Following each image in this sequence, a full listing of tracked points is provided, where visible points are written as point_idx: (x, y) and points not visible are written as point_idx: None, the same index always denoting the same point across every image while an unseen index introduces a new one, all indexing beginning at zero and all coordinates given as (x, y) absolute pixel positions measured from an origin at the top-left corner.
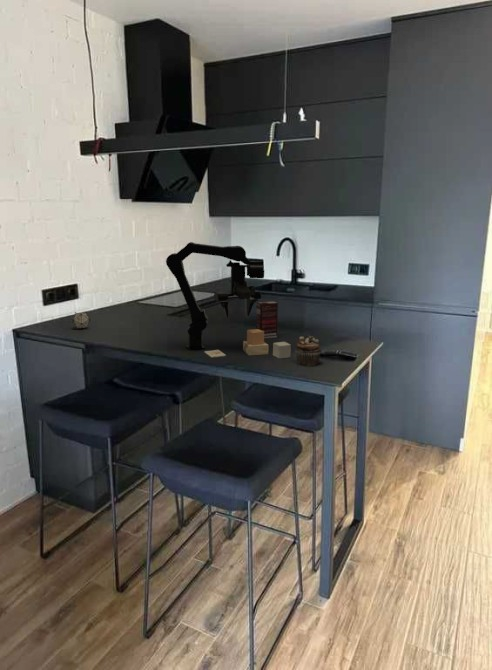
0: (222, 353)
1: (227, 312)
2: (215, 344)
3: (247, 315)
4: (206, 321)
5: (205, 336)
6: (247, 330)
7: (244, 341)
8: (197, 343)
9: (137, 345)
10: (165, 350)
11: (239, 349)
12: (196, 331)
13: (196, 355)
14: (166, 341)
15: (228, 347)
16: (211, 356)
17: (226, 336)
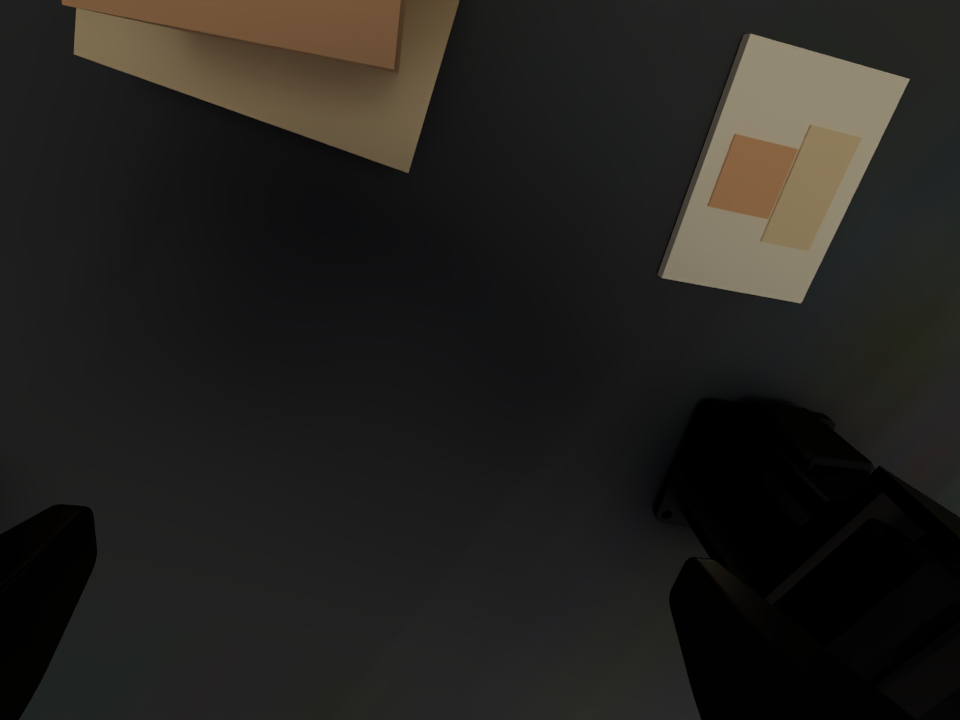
0: (730, 123)
1: (803, 660)
2: (532, 474)
3: (91, 537)
4: (948, 603)
5: (453, 685)
6: (396, 45)
7: (404, 141)
8: (817, 431)
9: None
10: (947, 496)
11: (435, 198)
12: (945, 514)
13: (919, 247)
14: None
15: (492, 331)
16: (901, 86)
17: (292, 636)
